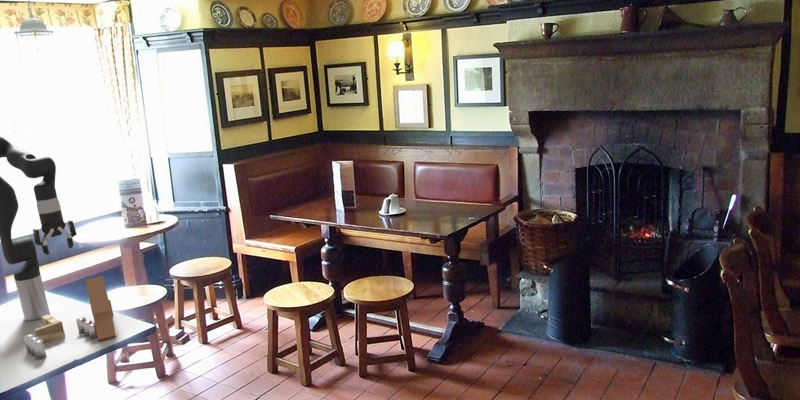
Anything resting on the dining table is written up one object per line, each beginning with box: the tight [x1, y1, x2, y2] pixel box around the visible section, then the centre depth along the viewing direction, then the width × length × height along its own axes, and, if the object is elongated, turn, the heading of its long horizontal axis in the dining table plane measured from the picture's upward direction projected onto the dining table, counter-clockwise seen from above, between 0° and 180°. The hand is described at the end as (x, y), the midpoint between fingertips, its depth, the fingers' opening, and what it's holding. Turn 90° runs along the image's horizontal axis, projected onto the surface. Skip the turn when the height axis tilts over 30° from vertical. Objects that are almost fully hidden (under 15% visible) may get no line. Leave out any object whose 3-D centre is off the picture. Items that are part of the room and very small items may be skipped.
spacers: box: [23, 316, 98, 361], centre depth 236 cm, size 14×22×6 cm, turn 137°
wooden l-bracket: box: [33, 314, 66, 345], centre depth 245 cm, size 14×9×6 cm, turn 47°
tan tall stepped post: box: [85, 275, 117, 342], centre depth 247 cm, size 7×23×25 cm
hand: (59, 251), depth 249 cm, fingers open, 8 cm apart
